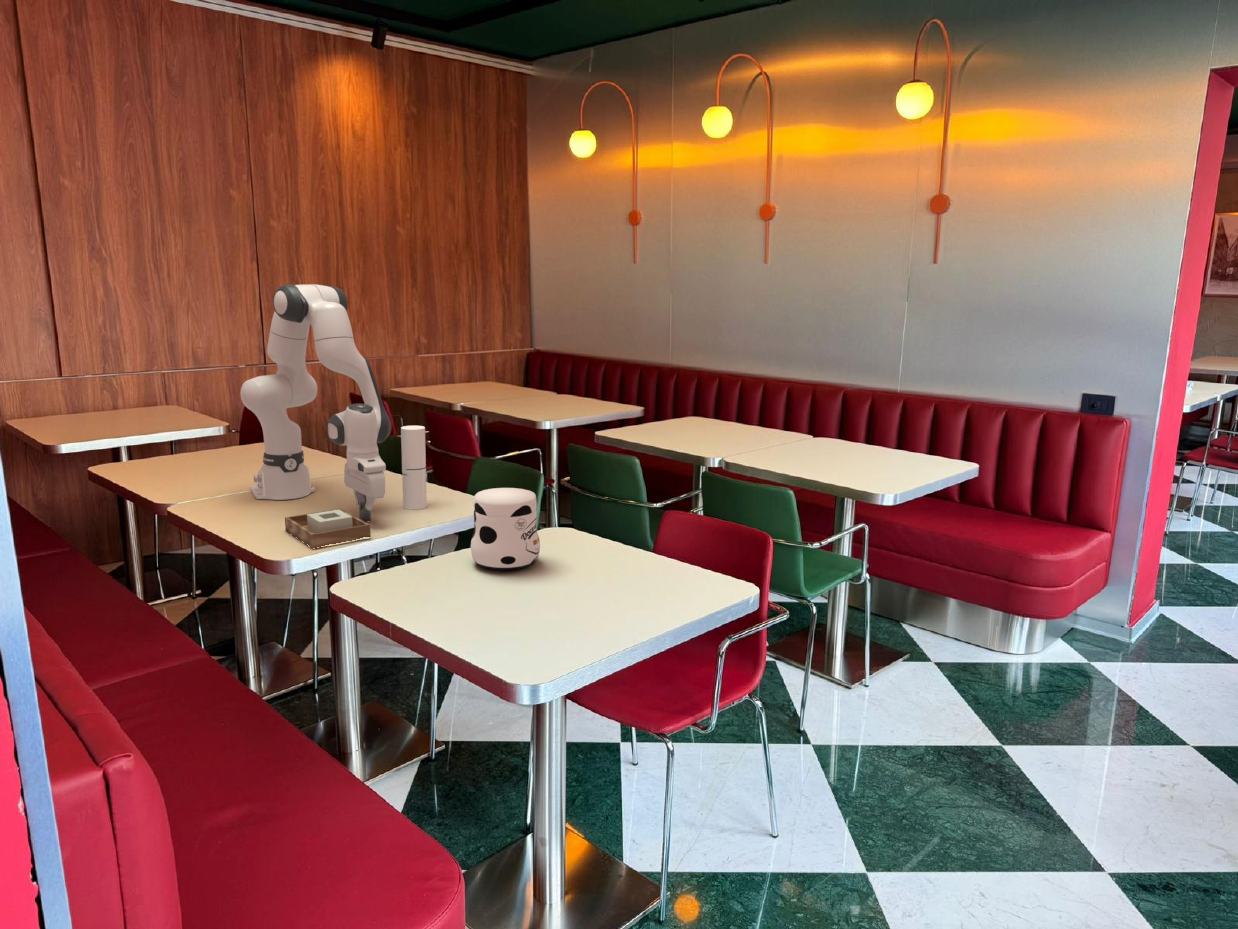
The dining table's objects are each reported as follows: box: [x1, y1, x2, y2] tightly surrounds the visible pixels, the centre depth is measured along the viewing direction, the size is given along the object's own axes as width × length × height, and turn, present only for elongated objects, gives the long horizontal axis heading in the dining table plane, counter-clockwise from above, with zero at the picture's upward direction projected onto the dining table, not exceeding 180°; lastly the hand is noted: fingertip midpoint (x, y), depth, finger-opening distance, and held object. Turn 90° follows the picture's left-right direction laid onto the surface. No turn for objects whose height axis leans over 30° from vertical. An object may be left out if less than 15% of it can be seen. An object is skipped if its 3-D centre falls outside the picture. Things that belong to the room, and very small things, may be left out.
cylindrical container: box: [400, 425, 428, 511], centre depth 267 cm, size 7×7×25 cm
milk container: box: [470, 487, 541, 571], centre depth 217 cm, size 17×17×18 cm
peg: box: [358, 492, 372, 523], centre depth 252 cm, size 3×3×11 cm
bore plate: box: [306, 509, 353, 534], centre depth 236 cm, size 9×9×5 cm
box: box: [284, 508, 372, 549], centre depth 238 cm, size 20×16×4 cm
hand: (364, 507), depth 252 cm, fingers open, 5 cm apart
